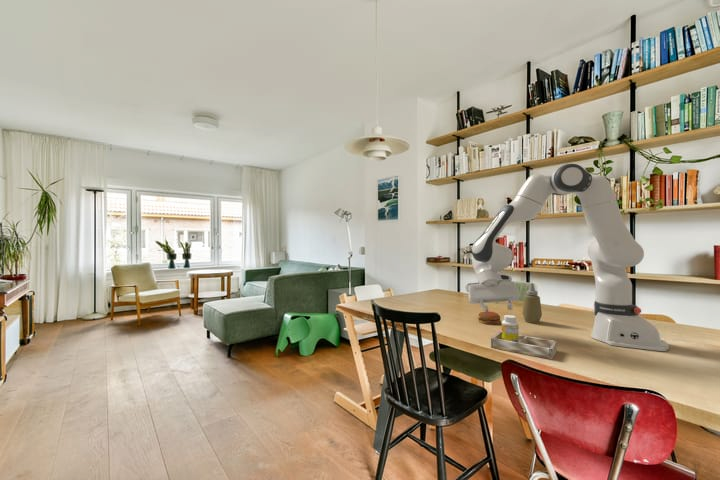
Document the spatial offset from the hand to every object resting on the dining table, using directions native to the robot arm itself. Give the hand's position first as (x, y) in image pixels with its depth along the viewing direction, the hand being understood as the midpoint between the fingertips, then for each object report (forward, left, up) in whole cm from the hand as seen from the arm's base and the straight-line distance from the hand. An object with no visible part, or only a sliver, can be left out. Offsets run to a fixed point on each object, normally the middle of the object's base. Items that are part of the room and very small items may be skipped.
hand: (498, 310), depth 130 cm
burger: (+10, -19, -11) cm, 24 cm away
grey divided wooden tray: (-11, +10, -10) cm, 18 cm away
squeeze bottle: (-6, -32, -11) cm, 34 cm away
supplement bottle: (-7, +10, -10) cm, 16 cm away
